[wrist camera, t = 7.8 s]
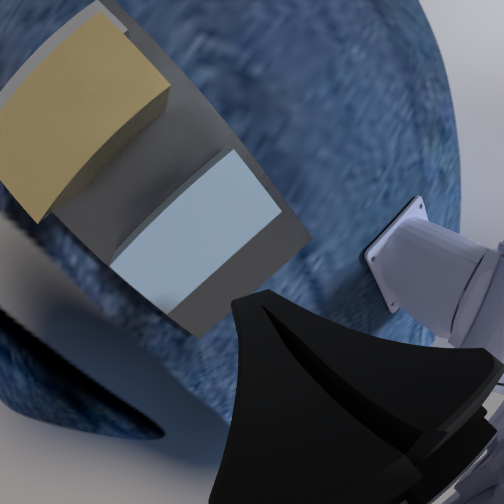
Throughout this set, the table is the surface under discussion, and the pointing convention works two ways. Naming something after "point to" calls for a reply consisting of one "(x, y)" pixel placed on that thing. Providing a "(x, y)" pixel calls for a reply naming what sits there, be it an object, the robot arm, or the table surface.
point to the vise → (169, 180)
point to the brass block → (76, 115)
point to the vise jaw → (195, 231)
